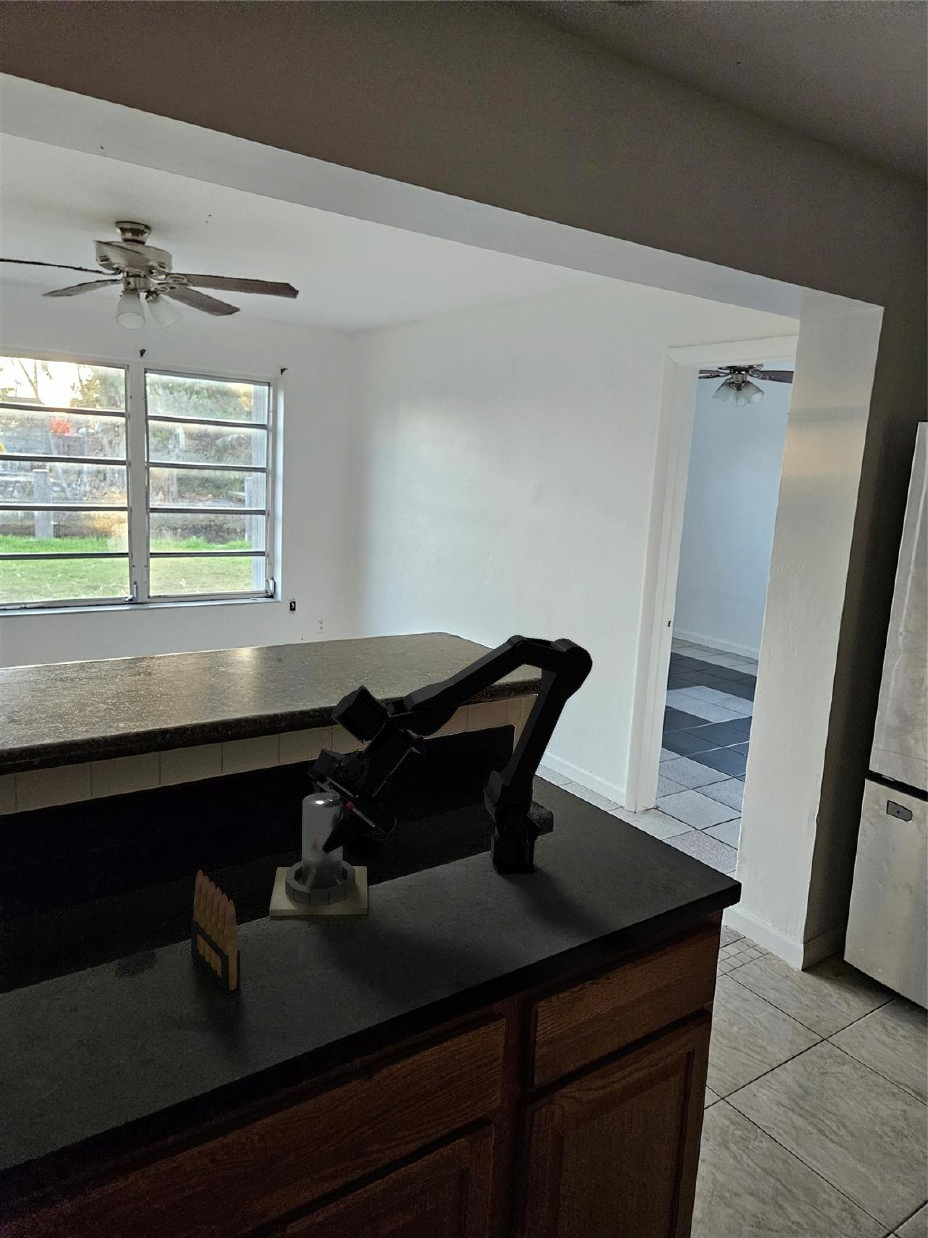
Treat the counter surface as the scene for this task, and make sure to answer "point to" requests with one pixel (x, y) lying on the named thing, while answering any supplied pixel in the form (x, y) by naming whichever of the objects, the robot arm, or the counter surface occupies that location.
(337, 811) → the steel peg
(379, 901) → the counter surface
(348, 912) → the socket plate
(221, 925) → the ammunition clip
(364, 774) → the robot arm
